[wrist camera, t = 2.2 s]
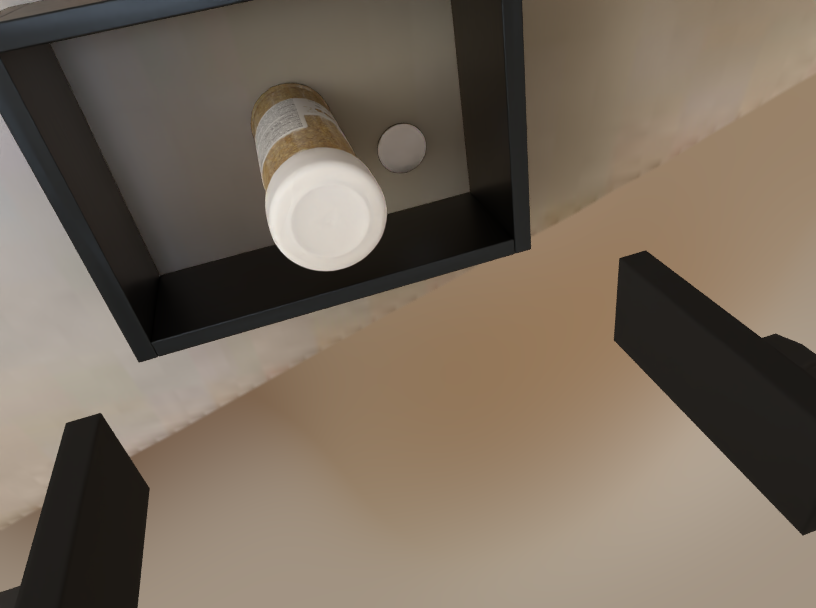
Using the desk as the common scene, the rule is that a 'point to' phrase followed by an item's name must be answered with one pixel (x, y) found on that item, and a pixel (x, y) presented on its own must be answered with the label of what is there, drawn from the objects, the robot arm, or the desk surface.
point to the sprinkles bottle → (314, 182)
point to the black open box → (268, 267)
